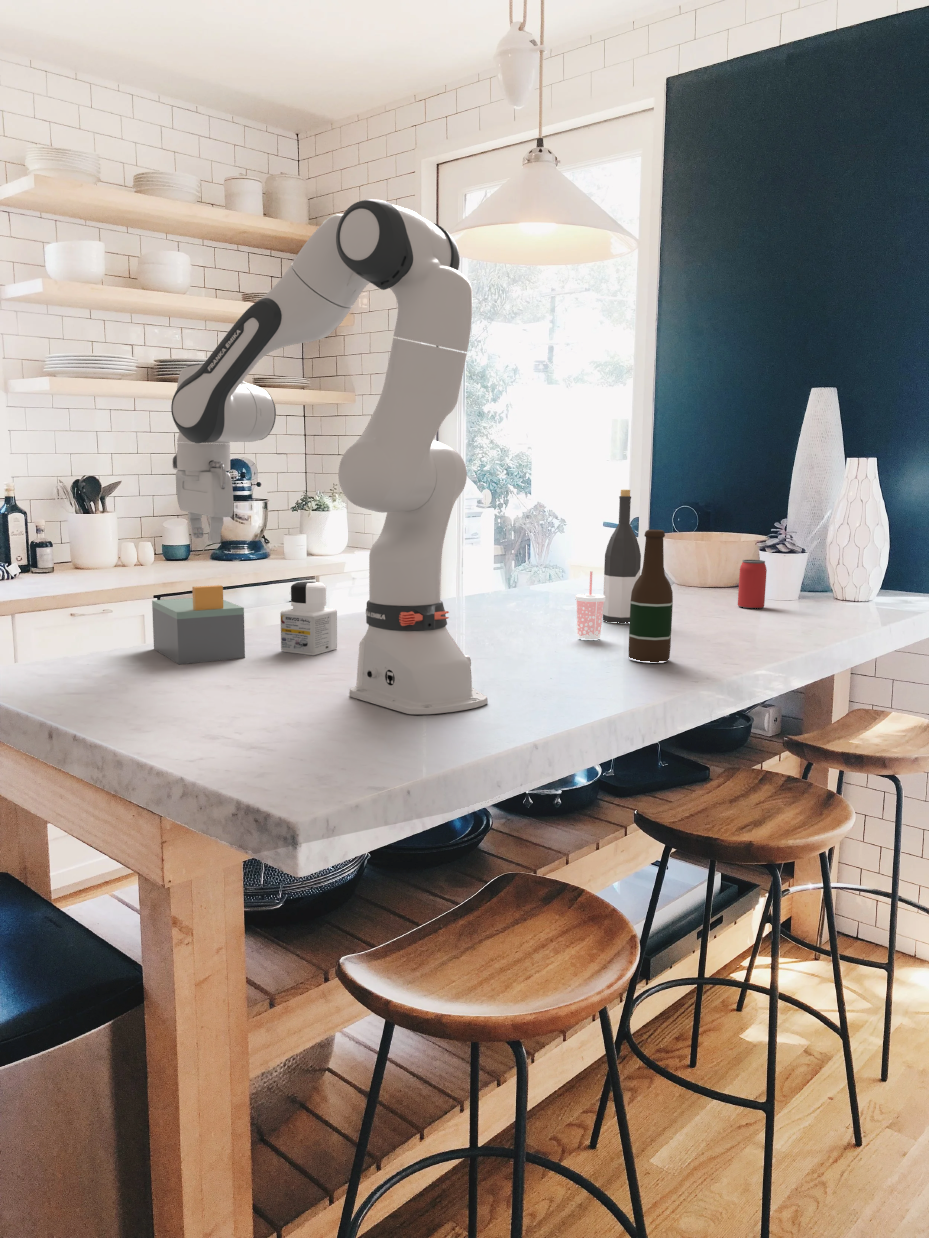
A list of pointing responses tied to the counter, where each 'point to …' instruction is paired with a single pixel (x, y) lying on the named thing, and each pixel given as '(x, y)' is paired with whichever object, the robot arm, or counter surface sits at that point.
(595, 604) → the beverage cup
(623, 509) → the wine bottle
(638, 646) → the beer bottle
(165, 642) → the tub
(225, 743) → the counter surface
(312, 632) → the container
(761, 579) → the beer can
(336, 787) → the counter surface
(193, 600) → the lid
